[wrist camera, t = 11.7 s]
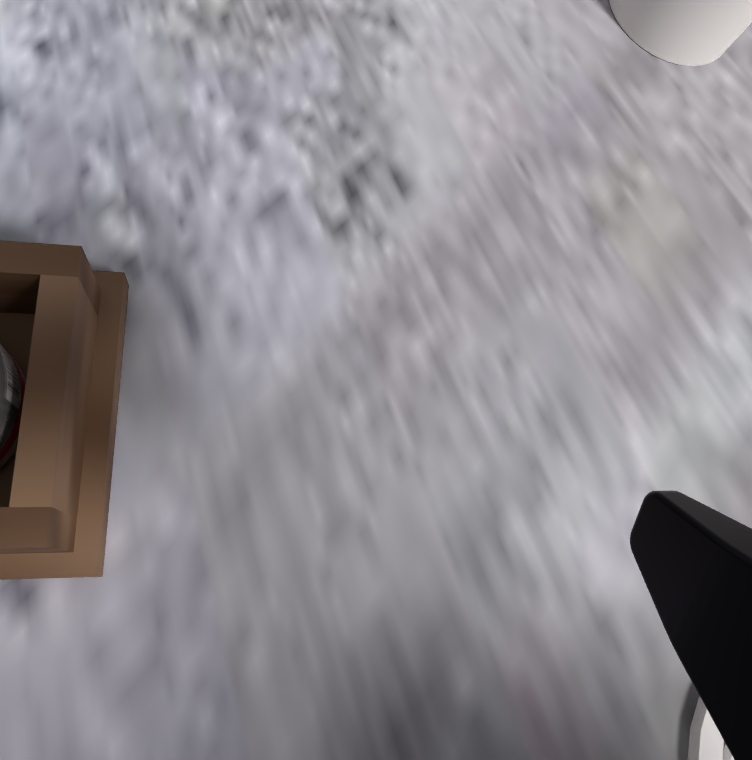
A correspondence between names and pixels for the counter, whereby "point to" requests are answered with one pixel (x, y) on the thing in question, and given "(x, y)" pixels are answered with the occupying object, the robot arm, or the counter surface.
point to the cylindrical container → (683, 27)
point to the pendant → (706, 737)
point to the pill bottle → (10, 404)
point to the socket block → (60, 408)
